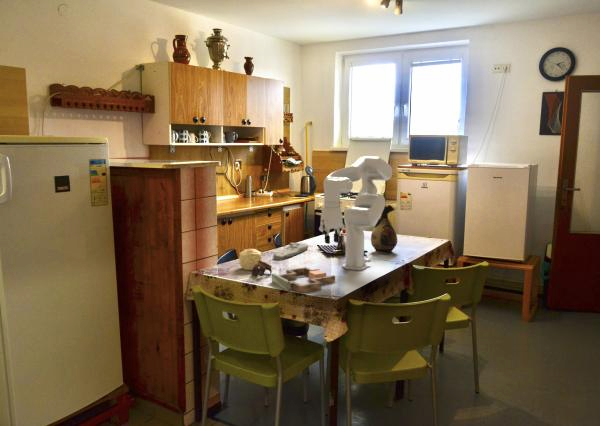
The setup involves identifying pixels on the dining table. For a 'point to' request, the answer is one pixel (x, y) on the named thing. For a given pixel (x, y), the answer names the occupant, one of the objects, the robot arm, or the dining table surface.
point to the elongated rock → (290, 251)
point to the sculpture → (249, 258)
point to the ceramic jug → (384, 233)
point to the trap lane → (298, 273)
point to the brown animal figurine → (261, 268)
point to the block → (316, 274)
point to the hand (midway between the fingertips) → (331, 242)
